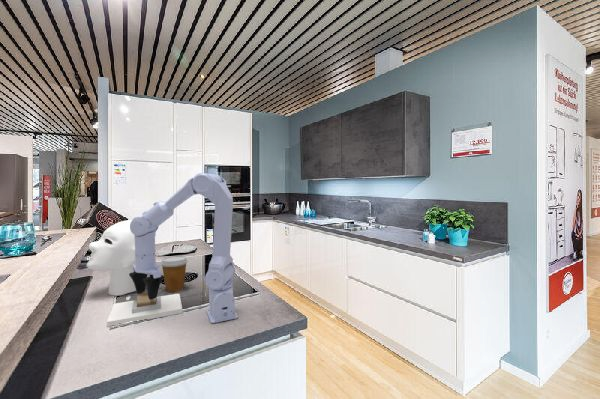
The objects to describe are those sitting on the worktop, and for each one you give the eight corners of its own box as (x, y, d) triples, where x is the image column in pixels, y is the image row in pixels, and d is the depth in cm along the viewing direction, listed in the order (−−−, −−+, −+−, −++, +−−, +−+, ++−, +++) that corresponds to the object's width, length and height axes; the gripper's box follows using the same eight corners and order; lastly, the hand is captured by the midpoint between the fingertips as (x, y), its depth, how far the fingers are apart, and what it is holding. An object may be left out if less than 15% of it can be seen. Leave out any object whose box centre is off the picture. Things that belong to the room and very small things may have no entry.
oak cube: (150, 308, 91) (149, 296, 91) (137, 308, 91) (136, 296, 91) (156, 303, 95) (155, 291, 95) (144, 303, 95) (143, 291, 95)
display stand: (182, 313, 92) (182, 304, 91) (106, 327, 83) (106, 317, 83) (179, 297, 104) (179, 290, 104) (113, 308, 95) (113, 300, 95)
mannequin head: (137, 306, 107) (175, 236, 116) (69, 289, 93) (118, 210, 101) (124, 293, 119) (159, 231, 128) (62, 276, 105) (106, 207, 114)
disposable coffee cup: (193, 286, 116) (192, 256, 115) (175, 294, 107) (175, 262, 106) (174, 283, 119) (173, 254, 118) (155, 291, 110) (154, 260, 109)
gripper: (169, 254, 91) (171, 296, 92) (146, 248, 100) (148, 287, 101) (147, 259, 86) (148, 304, 87) (124, 252, 94) (126, 293, 95)
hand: (146, 295), depth 93 cm, fingers open, 7 cm apart
